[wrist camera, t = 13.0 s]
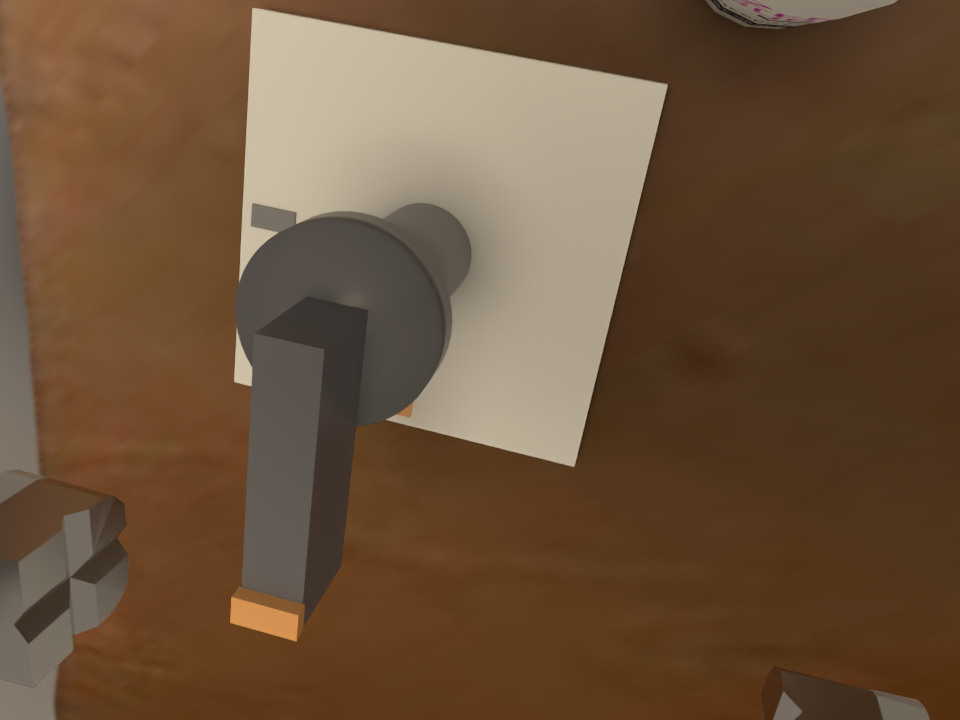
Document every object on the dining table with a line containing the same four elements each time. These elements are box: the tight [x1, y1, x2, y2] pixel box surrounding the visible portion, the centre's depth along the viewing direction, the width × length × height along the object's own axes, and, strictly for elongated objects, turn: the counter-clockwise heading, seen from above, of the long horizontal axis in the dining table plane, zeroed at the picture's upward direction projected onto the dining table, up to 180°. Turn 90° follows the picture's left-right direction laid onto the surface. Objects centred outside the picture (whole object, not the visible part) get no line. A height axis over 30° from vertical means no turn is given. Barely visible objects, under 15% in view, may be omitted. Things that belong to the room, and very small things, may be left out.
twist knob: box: [230, 211, 452, 641], centre depth 30 cm, size 14×8×7 cm, turn 171°
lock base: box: [234, 8, 668, 467], centre depth 37 cm, size 20×20×12 cm
